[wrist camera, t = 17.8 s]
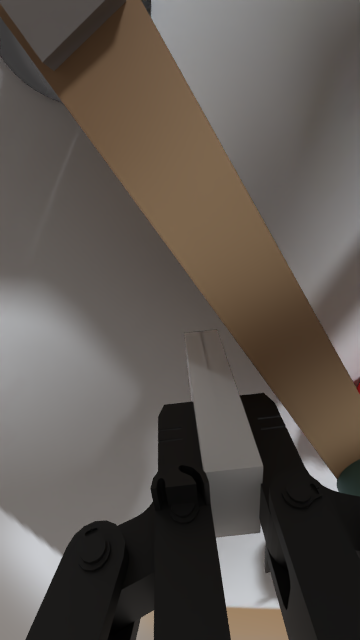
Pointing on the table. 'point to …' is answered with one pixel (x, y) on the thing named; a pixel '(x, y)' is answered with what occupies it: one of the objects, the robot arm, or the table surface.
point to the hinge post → (29, 60)
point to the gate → (193, 202)
